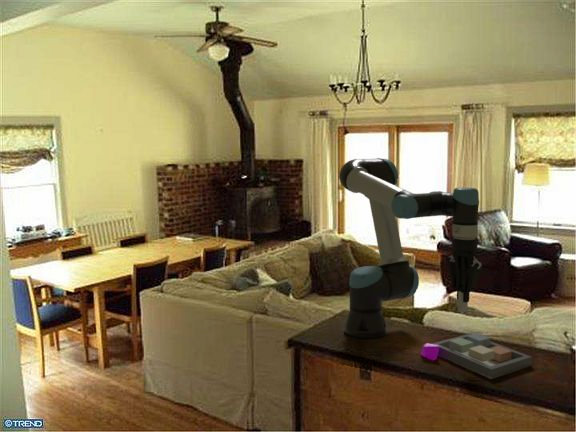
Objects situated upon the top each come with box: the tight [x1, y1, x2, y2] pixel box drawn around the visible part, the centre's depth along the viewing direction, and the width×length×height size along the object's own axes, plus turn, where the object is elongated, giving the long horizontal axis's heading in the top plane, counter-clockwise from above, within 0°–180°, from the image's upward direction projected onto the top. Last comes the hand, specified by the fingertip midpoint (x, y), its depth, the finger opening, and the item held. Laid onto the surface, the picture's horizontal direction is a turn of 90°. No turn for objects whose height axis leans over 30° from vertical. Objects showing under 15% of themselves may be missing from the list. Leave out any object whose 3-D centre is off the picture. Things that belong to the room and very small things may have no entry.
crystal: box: [420, 342, 440, 361], centre depth 173 cm, size 5×5×5 cm
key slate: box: [467, 332, 492, 347], centre depth 177 cm, size 5×5×2 cm
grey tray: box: [432, 333, 533, 380], centre depth 172 cm, size 24×18×3 cm
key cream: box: [469, 345, 494, 362], centre depth 166 cm, size 5×5×2 cm
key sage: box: [449, 338, 474, 353], centre depth 173 cm, size 5×5×2 cm
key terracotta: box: [489, 346, 512, 362], centre depth 170 cm, size 5×5×2 cm
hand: (462, 311), depth 171 cm, fingers closed
